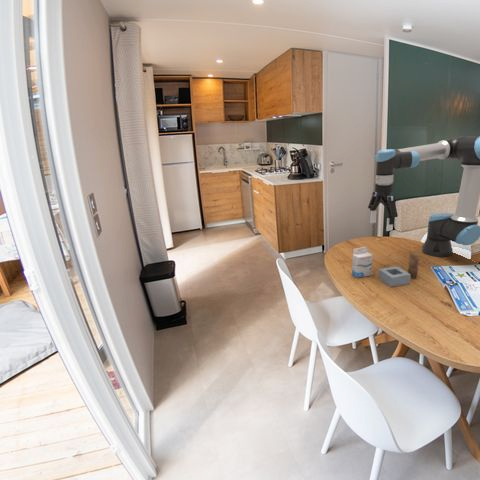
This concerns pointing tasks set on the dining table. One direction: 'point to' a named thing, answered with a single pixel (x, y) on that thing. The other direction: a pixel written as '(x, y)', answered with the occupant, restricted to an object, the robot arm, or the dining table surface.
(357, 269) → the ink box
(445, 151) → the robot arm
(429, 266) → the dining table surface
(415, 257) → the peg
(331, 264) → the dining table surface
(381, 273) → the socket
